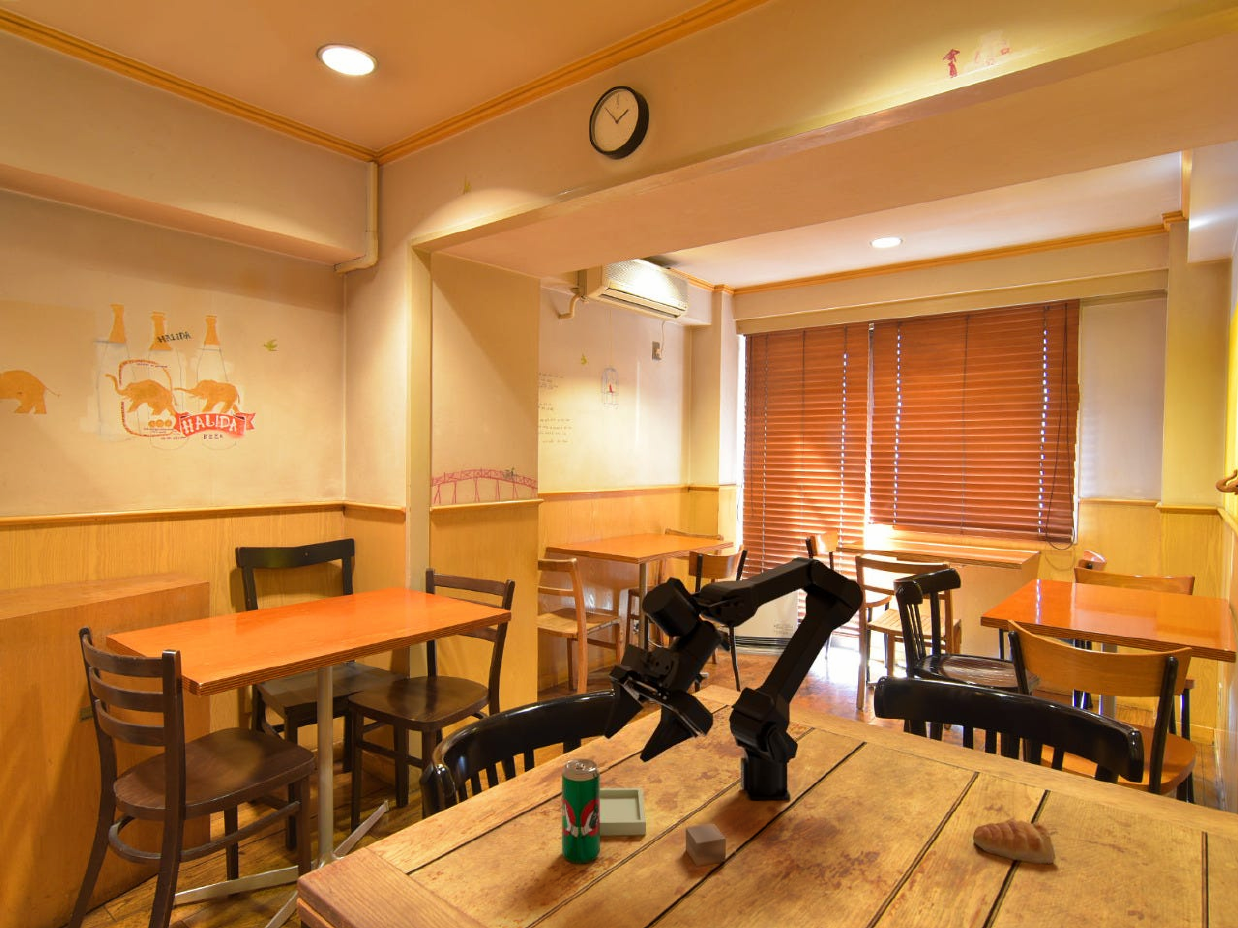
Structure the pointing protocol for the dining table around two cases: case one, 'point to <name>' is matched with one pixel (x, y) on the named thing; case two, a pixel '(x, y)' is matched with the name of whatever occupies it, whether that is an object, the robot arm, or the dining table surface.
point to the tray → (622, 811)
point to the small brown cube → (705, 844)
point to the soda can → (580, 811)
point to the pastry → (1016, 841)
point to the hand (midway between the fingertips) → (623, 748)
